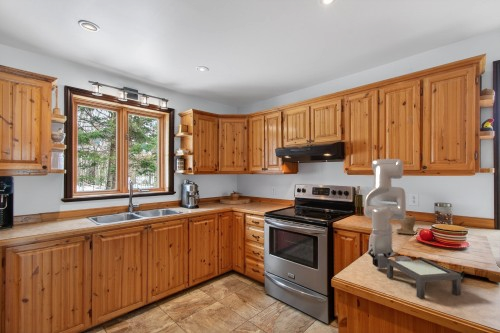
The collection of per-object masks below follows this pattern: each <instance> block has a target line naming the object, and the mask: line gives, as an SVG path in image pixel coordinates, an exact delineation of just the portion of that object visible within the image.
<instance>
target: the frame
mask: <svg viewBox="0 0 500 333" xmlns="http://www.w3.org/2000/svg"><path fill="white" fill-rule="evenodd" d="M417 260H421V261H423V262H425V263H428V264H430V265H432V266H434V267H436V268H438V269H440V270H442V271H444V272H447V273H441V274H427V275H420V274H418V273H416V272H414V271H412V270H410V269H408V268H406V267H405V266H403V265H401V264H399V263H397V261H395V260H393V259H391V258H388V259H387V268H386V278H387V279H389V280H394V268H395V269H396V270H398V271H399V272H401V273H403V274H405V275H407V276H408V277H410V278H412V279H414V280H416V285H415V286H416V292H415V294H416V295H415V296H416V298H418V299H420V300H424V299H425V298H426V293H425V292H426V291H425V290H426V283H428V282H429V283H430V282H441V281H442V282H443V281H451V287H452V288H451V294H453V295H454V296H457V297H458V296H461V295H462V286H461V285H462V280H461V274H459V273H456V272H454V271H452V270H450V269H447V268H445V267H443V266H440V265H438V263H437V262H433V261H431V260H429V259H427V258H424V257H423V256H419V257H417Z"/></svg>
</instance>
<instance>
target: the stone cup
mask: <svg viewBox="0 0 500 333" xmlns="http://www.w3.org/2000/svg"><path fill="white" fill-rule="evenodd" d="M399 222H400V228H396V234H399V233H401V234H403V235H415V234H414V233H415V232H416V231H415V230H414V227H415V224H416V218H415V217H414V216H411V215H406V216H405V219H404V220H399Z"/></svg>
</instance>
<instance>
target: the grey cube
mask: <svg viewBox="0 0 500 333" xmlns="http://www.w3.org/2000/svg"><path fill="white" fill-rule="evenodd" d="M374 256H375V255H374ZM387 259H389V258H386V257H385V256H383V255H378V256H377V260H378V267H377V268H378V269H387Z"/></svg>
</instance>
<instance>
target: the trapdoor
mask: <svg viewBox="0 0 500 333" xmlns="http://www.w3.org/2000/svg"><path fill="white" fill-rule="evenodd" d="M394 256H395V255H394ZM394 261H395V262H397V263H399V264H401V265H403V266H405V267H406V268H408V269H410V270H412V271H414V272H416V273H418V274H420V275H427V274H441V273H447V272H444V271H442V270H440V269H438V268H436V267H434V266H432V265H430V264H428V263H425V262H423V261H421V260H418V259H416V260H413V259H412V258H411V257H409V256H407V255H398V256H397V255H396V256H395V257H394Z"/></svg>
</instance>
